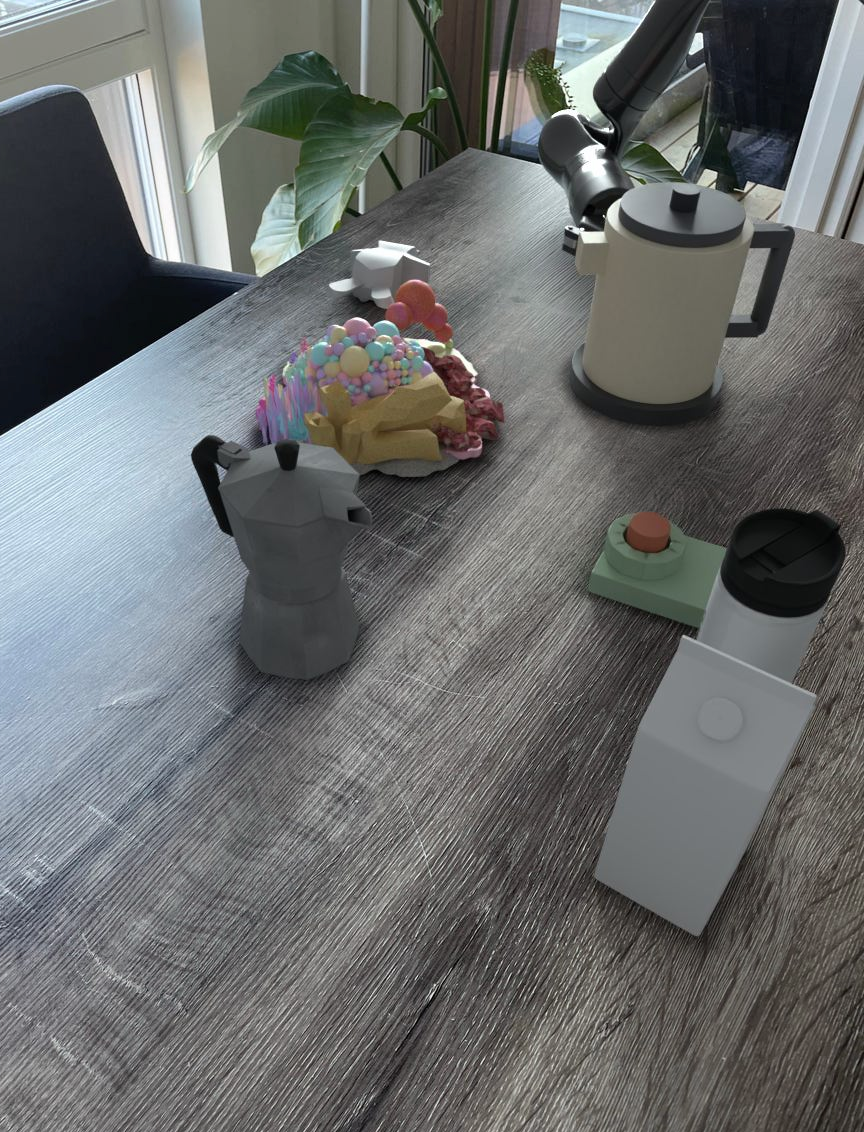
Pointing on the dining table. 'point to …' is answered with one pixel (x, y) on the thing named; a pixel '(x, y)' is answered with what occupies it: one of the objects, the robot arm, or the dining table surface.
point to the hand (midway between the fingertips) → (636, 276)
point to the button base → (658, 574)
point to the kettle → (669, 300)
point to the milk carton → (699, 781)
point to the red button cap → (648, 532)
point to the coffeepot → (289, 548)
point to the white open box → (381, 273)
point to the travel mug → (773, 588)
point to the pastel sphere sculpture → (384, 393)
